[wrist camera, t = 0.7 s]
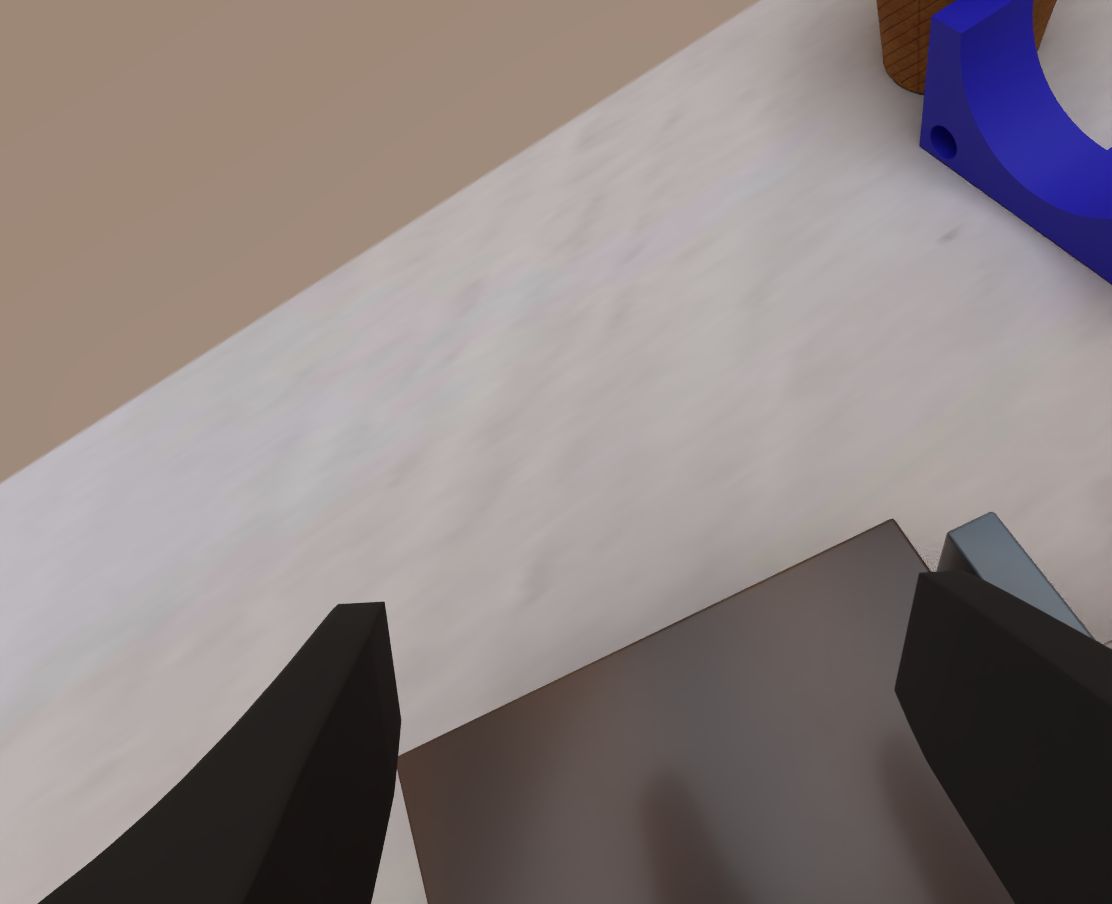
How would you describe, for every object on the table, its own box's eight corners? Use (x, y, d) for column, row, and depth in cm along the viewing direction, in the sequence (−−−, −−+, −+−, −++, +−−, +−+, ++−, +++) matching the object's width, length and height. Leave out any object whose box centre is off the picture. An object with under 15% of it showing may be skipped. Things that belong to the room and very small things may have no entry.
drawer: (1112, 522, 23) (1194, 413, 18) (1573, 1042, 16) (1955, 1133, 11) (599, 762, 25) (526, 731, 19) (811, 1330, 18) (792, 1541, 12)
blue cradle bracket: (1279, 248, 26) (1379, 102, 21) (1164, 321, 26) (1236, 193, 21) (1011, 87, 33) (1039, -54, 28) (919, 145, 33) (931, 16, 28)
